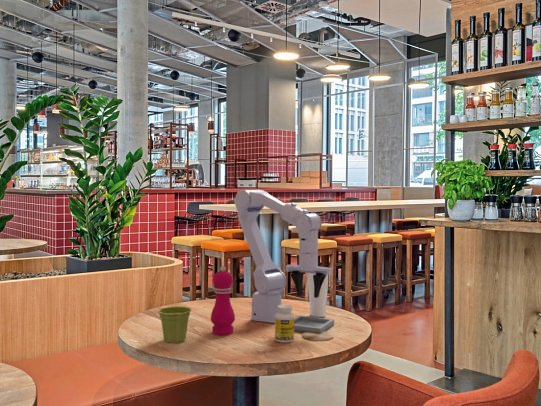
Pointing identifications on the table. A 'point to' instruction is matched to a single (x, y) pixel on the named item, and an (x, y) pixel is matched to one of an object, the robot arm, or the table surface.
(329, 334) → the cork coaster
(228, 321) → the pepper mill
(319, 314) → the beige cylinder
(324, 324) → the tray
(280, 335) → the supplement bottle
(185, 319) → the plant pot
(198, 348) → the table surface
